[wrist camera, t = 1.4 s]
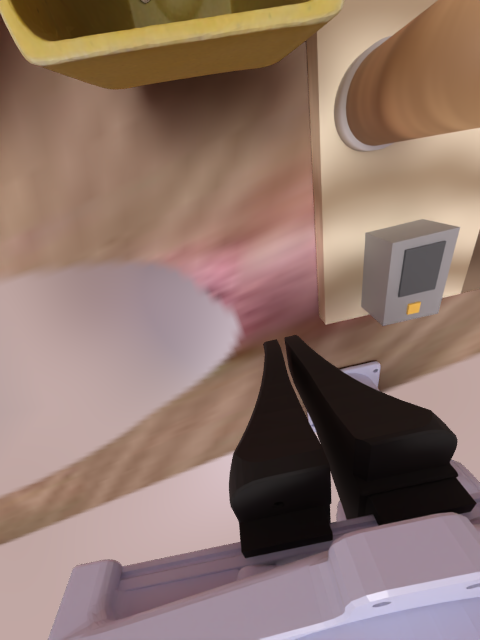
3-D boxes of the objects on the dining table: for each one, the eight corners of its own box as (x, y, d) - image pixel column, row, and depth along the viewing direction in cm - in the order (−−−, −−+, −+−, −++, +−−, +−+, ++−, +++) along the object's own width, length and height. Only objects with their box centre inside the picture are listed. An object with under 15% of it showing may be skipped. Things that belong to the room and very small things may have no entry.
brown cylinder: (407, 141, 14) (563, 115, 8) (333, 159, 14) (430, 148, 8) (420, 34, 12) (654, -124, 6) (333, 57, 12) (467, -74, 6)
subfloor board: (542, 264, 21) (563, 269, 20) (319, 315, 22) (325, 324, 21) (701, -80, 12) (760, -111, 11) (305, 24, 13) (316, 7, 11)
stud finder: (409, 295, 20) (439, 314, 17) (361, 306, 20) (384, 326, 17) (422, 219, 17) (462, 227, 14) (365, 232, 17) (394, 243, 14)
